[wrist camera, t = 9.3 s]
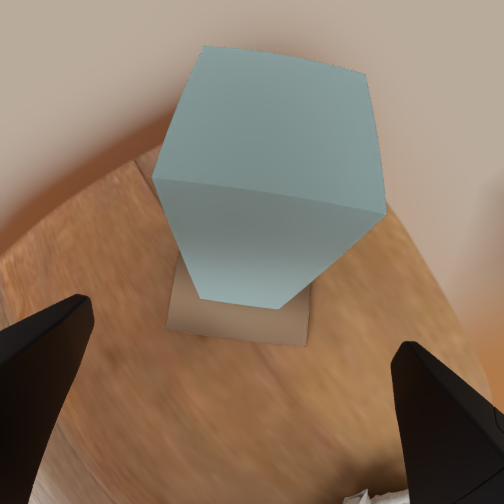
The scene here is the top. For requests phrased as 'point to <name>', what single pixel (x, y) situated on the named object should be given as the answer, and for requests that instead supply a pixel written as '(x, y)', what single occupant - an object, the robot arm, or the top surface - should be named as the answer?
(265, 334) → the base tile
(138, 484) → the top surface
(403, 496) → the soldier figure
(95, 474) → the top surface
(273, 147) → the pillar
